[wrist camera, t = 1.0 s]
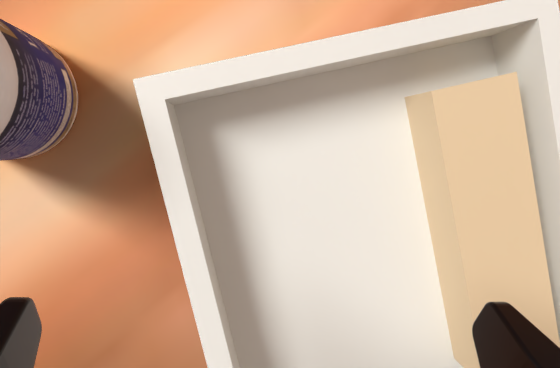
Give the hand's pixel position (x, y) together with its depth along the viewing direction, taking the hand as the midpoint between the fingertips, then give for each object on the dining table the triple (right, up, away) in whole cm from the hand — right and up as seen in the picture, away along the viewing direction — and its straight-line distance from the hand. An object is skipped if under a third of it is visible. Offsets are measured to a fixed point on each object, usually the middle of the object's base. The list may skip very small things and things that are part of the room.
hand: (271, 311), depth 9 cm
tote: (+5, -1, +15) cm, 16 cm away
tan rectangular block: (+10, +1, +15) cm, 18 cm away
